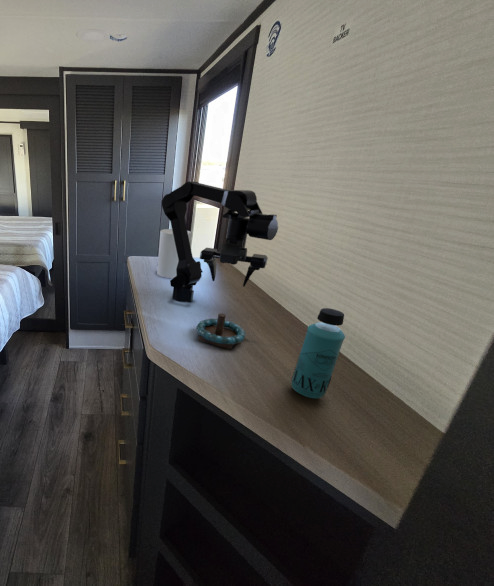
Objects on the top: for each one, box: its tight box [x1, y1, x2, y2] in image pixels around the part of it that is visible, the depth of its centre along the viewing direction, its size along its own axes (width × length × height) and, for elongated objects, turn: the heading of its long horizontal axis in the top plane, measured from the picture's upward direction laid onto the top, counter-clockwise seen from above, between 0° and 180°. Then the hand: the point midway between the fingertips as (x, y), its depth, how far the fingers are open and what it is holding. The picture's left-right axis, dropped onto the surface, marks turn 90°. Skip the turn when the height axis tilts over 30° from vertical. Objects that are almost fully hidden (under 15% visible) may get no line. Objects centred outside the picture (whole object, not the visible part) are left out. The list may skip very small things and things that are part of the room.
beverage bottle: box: [290, 307, 346, 399], centre depth 64 cm, size 6×7×20 cm
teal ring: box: [195, 318, 247, 345], centre depth 89 cm, size 13×13×2 cm
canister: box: [156, 228, 192, 280], centre depth 143 cm, size 14×14×20 cm
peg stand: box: [197, 312, 237, 350], centre depth 89 cm, size 9×9×8 cm
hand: (228, 283), depth 99 cm, fingers open, 9 cm apart
